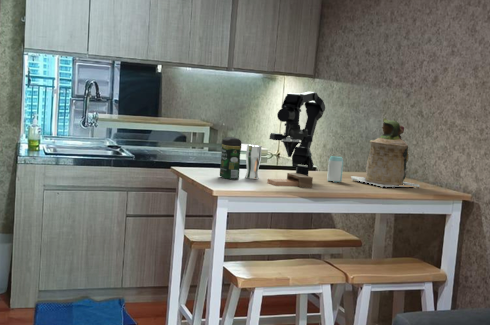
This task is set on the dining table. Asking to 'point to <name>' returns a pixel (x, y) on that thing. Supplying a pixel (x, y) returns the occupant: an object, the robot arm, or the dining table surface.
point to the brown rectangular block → (301, 179)
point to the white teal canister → (335, 169)
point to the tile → (283, 182)
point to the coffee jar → (230, 158)
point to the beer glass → (253, 161)
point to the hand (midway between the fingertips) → (289, 156)
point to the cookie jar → (387, 158)
